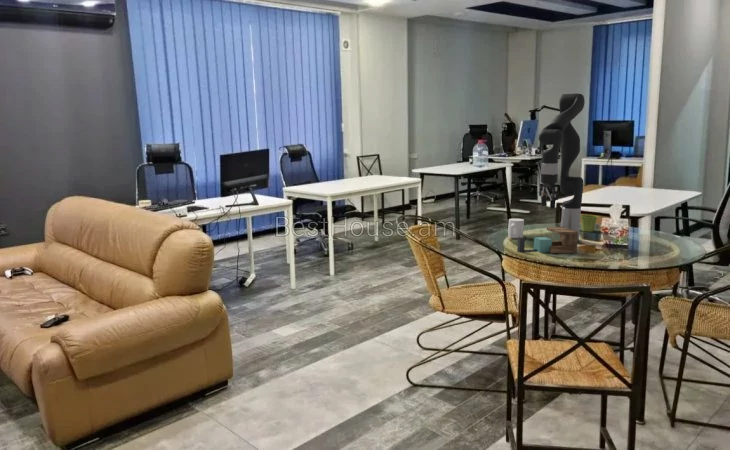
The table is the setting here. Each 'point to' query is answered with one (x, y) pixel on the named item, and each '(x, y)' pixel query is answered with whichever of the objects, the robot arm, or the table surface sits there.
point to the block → (535, 244)
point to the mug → (515, 228)
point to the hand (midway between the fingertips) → (548, 207)
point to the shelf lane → (564, 240)
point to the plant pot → (588, 222)
